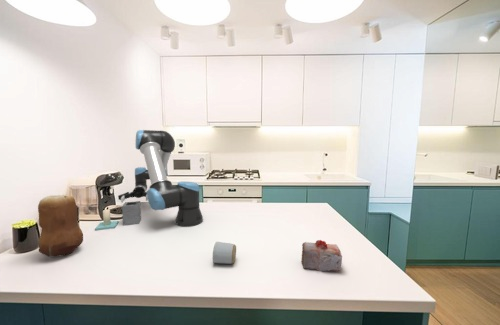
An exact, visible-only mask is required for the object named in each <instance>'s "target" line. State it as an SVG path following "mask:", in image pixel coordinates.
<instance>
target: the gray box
mask: <svg viewBox="0 0 500 325" xmlns="http://www.w3.org/2000/svg"><path fill="white" fill-rule="evenodd" d="M141 210H142V208H141V201H140V200H139V201H138V200H137V201H124V202H123V204H122V205H121V211H122V213H121V214H122V225H123V226H130V225H131V226H132V225H133V226H134V225H140V223H141V221H142V211H141Z"/></svg>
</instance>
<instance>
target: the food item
mask: <svg viewBox="0 0 500 325" xmlns="http://www.w3.org/2000/svg"><path fill="white" fill-rule="evenodd" d="M301 246H302V250H301V262H300V263H301V265H302V268H303V269H311V270H317V271H318V272H321V273H322V272H326V271H327V272H330V271H335V272H338V271H340V270H341V269H342V264H343V255H342V252H341V250H340V248H339V246H338V245H337V244H333V243H331V244H330V243H327V242H326V241H324V240H321V239H318V240H316V241H315V242H307V241H305V242H303V243H302V245H301Z"/></svg>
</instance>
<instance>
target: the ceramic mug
mask: <svg viewBox="0 0 500 325" xmlns="http://www.w3.org/2000/svg"><path fill="white" fill-rule="evenodd" d="M236 256H237V245H236V244H234V243H231V242H222V241H215V243H214V245H213V250H212V263H213V264H227V265H232V264H234V263H235V261H236Z"/></svg>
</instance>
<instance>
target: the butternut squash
mask: <svg viewBox="0 0 500 325" xmlns="http://www.w3.org/2000/svg"><path fill="white" fill-rule="evenodd" d="M37 212H38V225H39V227H40V229H41V233H40V235H39V238H38V252H39V253H40V254H42V255H44V256H47V257H52V258H55V257H56V258H57V257H60V256H61V257H62V256H63V257H65V256H68V255H70V254H72V253H73V252H74V251H76V249H78V248H79V247H80V246H81V245H82V244H83V241H84V234H83V231H82V229H81V228H80V226H79V224H78V208H77V203H76V199H75V198H74V197H73V196H72V195H70V194H61V195H60V194H59V195H48V196H45V197H43V198H42V199H40V201H39V203H38V205H37Z"/></svg>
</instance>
